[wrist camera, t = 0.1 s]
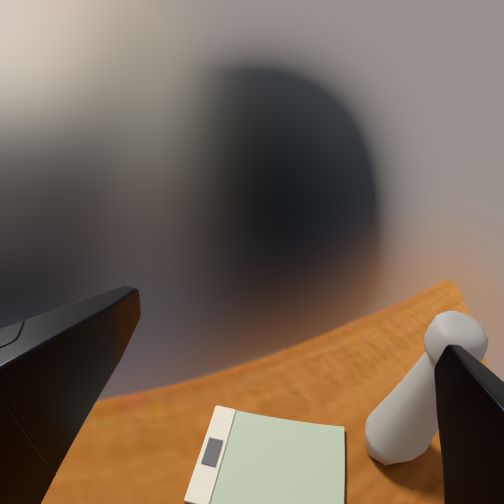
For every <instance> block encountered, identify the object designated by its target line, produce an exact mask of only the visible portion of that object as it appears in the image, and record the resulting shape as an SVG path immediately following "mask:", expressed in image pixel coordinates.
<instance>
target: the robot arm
mask: <svg viewBox="0 0 504 504" xmlns="http://www.w3.org/2000/svg"><path fill="white" fill-rule="evenodd" d="M140 315H141V311H140V297H139V291H138V289H136V288H133V287H130V286H122V287H119V288H116V289H114V290H110V291H107V292H104V293H102V294H99V295H96V296H93V297H90V298H87V299H85V300H82V301H79V302H76V303H73V304H71V305H67V306H65V307H62V308H59V309H56V310H53V311H51V312H48V313H45V314H42V315H39V316H36V317H34V318H31V319H28V320H26V321H25V322H24V321H22V322H19V323H17V324H14V325H11V326H8V327H5V328H2V329H0V504H41V502H42V500H43V498H44V496H45V494H46V493H47V491H48V489H49V487H50V485H51V483H52V481H53V479H54V477H55V475H56V472H57V471H58V469H59V467H60V465H61V463H62V461H63V460H64V458H65V456H66V454H67V452H68V450H69V448H70V447H71V445H72V443H73V441H74V439H75V438H76V436H77V434H78V432H79V430H80V429H81V427H82V425H83V423H84V421H85V420H86V418H87V416H88V414H89V413H90V411H91V409H92V407H93V406H94V404H95V402H96V401H97V399H98V397H99V395H100V394H101V392H102V390H103V389H104V387H105V385H106V384H107V382H108V380H109V379H110V377H111V375H112V374H113V372H114V370H115V369H116V367H117V365H118V363H119V362H120V360H121V358H122V356H123V354H124V351H125V349H126V347H127V345H128V343H129V341H130V339H131V336H132V334H133V332H134V330H135V328H136V326H137V324H138V322H139V319H140ZM434 379H435V393H436V411H437V422H438V429H439V437H440V446H441V456H442V468H443V482H444V504H504V382H503V381H502V380H501V379H500V378H498V377H497V376H496V375H495V374H494V373H493V372H491V371H490V370H489V369H488V368H487V367H486V366H484V365H483V364H482V363H481V362H480V361H478V360H477V359H476V358H475V357H474V356H472V355H471V354H470V353H469V352H468V351H466V350H465V349H464V348H463V347H461V346H460V345H453V344H449V345H447V346H446V347H445V349H444V351H443V352H442V354H441V356H440V358H439V360H438V361H437V363H436V365H435V368H434Z"/></svg>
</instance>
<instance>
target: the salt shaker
mask: <svg viewBox="0 0 504 504" xmlns="http://www.w3.org/2000/svg"><path fill="white" fill-rule="evenodd" d="M449 344H453V345H460V346H461V347H463V348H464V349H465V350H466V351H468V352H469V353H470V354H471V355H472V356H474V357H475V358H476V359H477V360H478V361H480V362H481V361H482V359H483V357H484V355H485V352H486V350H487V346H488V339H487V335H486V333H485V331H484V328H483V327H482V326H481V325H480V324H479V323H478V322H477V321H476V320H475V319H473V318H472V317H470V316H469V315H466V314H464V313H461V312H458V311H447V312H444V313H441V314H438V315H436V317H435V318H434V320H433V321H432V323H431V324H430V326H429V328H428V329H427V332H426V334H425V336H424V347H425V353H424V354H423V355H422V357H421V358H420V359H419V360H418V362H417V363H416V364H415V365H414V367H413V368H412V369H411V370H410V371H409V373H408V374H407V375H406V376H405V377H404V379H403V380H402V381H401V382H400V383H399V384H398V385H397V386H396V387H395V388H394V389H393V391H392V392H391V393H390V394H389V395H388V396H387V397H386V398H385V399H384V400H383V401H382V402H381V403H380V404H379V405H378V406H377V407H376V408H375V409H374V411H373V412H372V413H371V414H370V416H369V417H368V419H367V421H366V428H365V438H366V444H367V451H368V455H369V456H370V457H372V458H373V459H375V460H377V461H378V462H380V463H382V464H383V465H385V466H387V465H390V464H394V463H400V462H407V461H411V460H413V459H414V458H416V457H418V456H420V455H421V454H423V453H424V452H425V451H426V450H427V448H428V446H429V445H430V443H431V441H432V439H433V437H434V436H435V434H436V432H437V430H438V422H437V411H436V393H435V379H434V368H435V365H436V363H437V361H438V360H439V358H440V356H441V354H442V352H443V351H444V349H445V347H446V346H447V345H449Z"/></svg>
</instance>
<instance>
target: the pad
mask: <svg viewBox="0 0 504 504" xmlns="http://www.w3.org/2000/svg"><path fill="white" fill-rule="evenodd" d="M344 480H345V446H344V427H341V426H331V425H322V424H313V423H306V422H298V421H292V420H285V419H279V418H273V417H267V416H262V415H256V414H251V413H246V412H241V411H237V410H235V409H231V408H226V407H222V406H217V405H216V407H215V410H214V413H213V416H212V419H211V422H210V425H209V428H208V431H207V434H206V437H205V440H204V443H203V446H202V449H201V452H200V455H199V458H198V461H197V464H196V467H195V469H194V472H193V475H192V478H191V481H190V484H189V487H188V490H187V493H186V496H185V499H184V502H185V503H189V504H344Z"/></svg>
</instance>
